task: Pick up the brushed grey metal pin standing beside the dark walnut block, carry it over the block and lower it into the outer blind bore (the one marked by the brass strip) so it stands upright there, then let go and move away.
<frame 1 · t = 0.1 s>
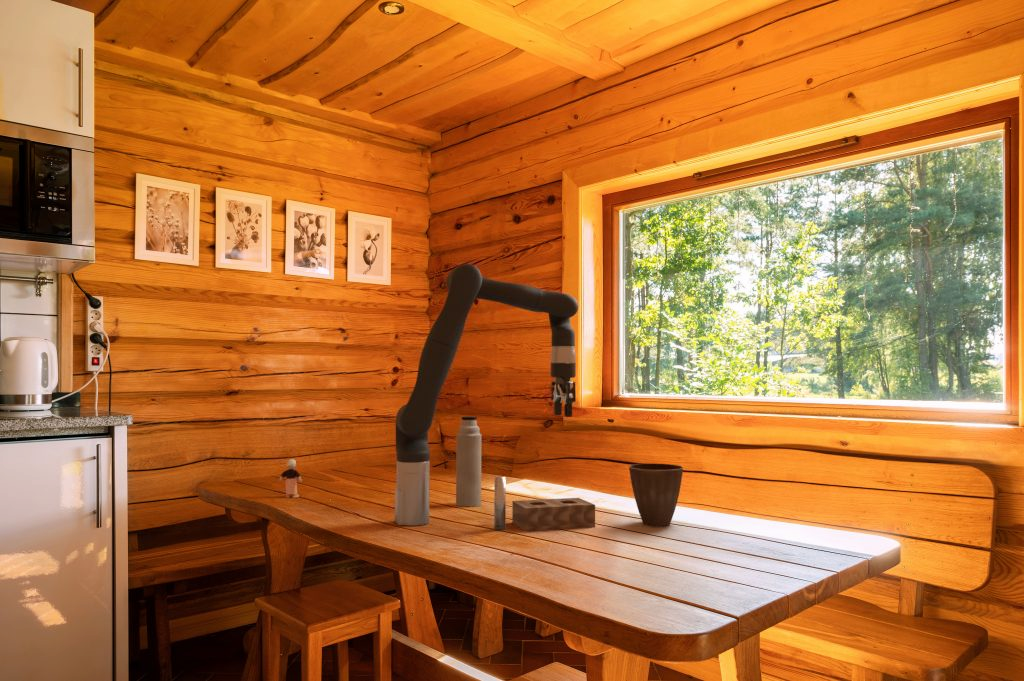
hand: (562, 416, 225), 29 cm above the table, tool pointing down, fingers open, 8 cm apart
plant pot: (656, 524, 210), on the table
metal pin: (499, 529, 202), on the table
walnut bore block: (553, 524, 209), on the table
grandmother figurine: (290, 497, 253), on the table
thermos bottle: (468, 505, 239), on the table
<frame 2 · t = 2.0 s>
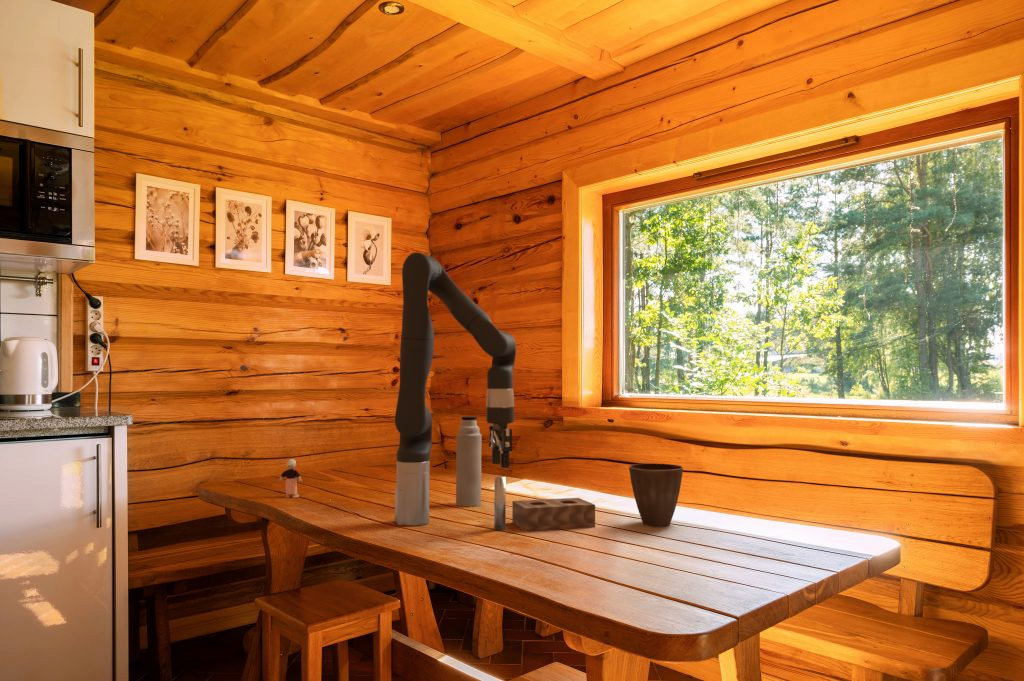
hand: (500, 465, 203), 17 cm above the table, tool pointing down, fingers open, 8 cm apart
nothing on the table moved.
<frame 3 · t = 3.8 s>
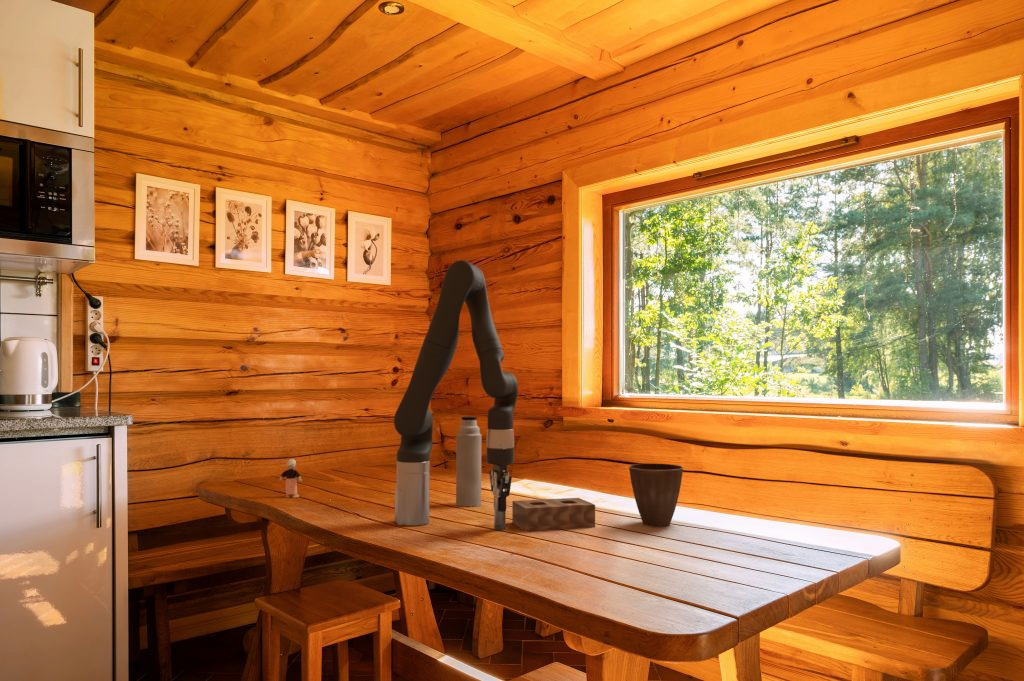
hand: (499, 510, 202), 5 cm above the table, tool pointing down, fingers closed on metal pin, 3 cm apart
metal pin: (499, 529, 202), on the table, touching gripper
everything else where it was.
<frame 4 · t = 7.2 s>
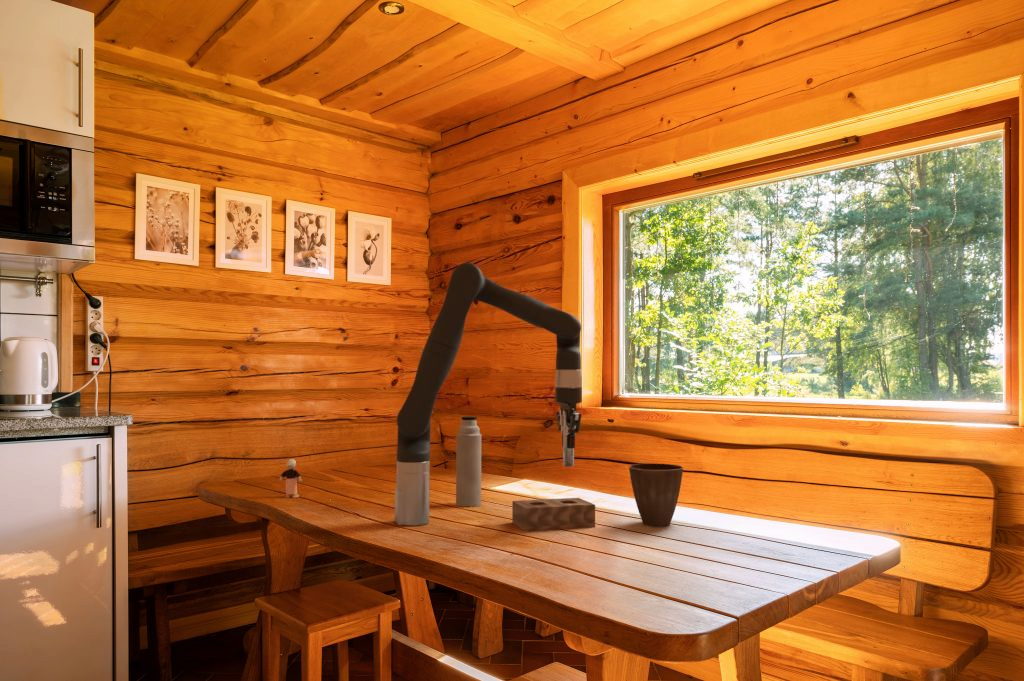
hand: (568, 447, 211), 21 cm above the table, tool pointing down, fingers closed on metal pin, 3 cm apart
metal pin: (568, 465, 211), point 16 cm above the table, touching gripper
everything else where it was.
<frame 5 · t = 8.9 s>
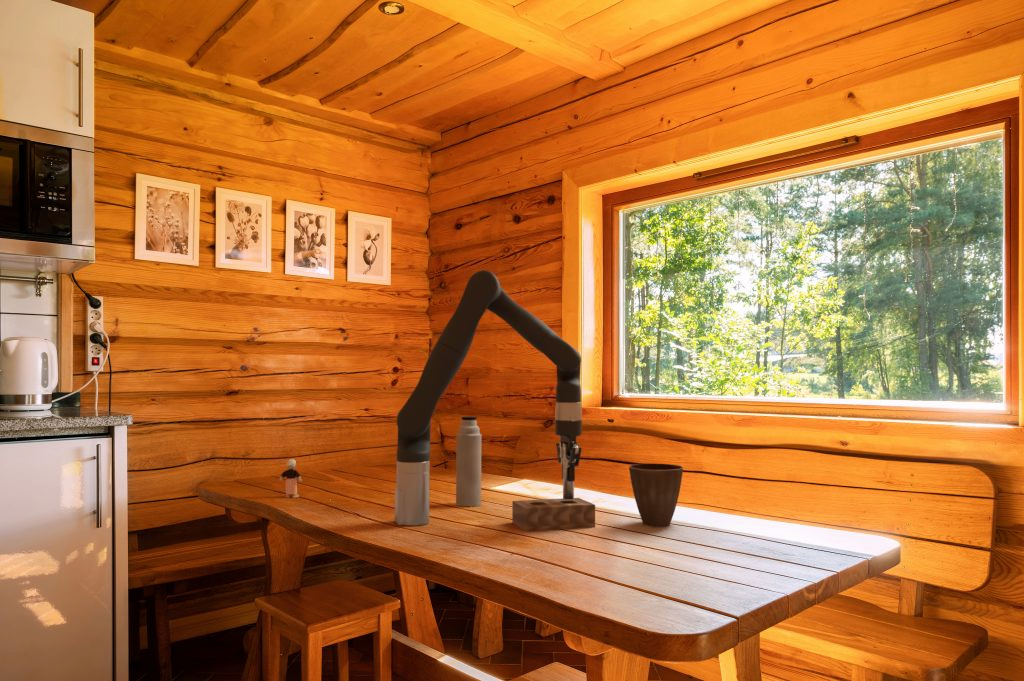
hand: (568, 480, 210), 12 cm above the table, tool pointing down, fingers closed on metal pin, 3 cm apart
metal pin: (568, 498, 210), point 7 cm above the table, touching gripper
everything else where it was.
when the fingers open (7 cm above the table, at t = 10.3 s): metal pin stays where it is, resting on walnut bore block.
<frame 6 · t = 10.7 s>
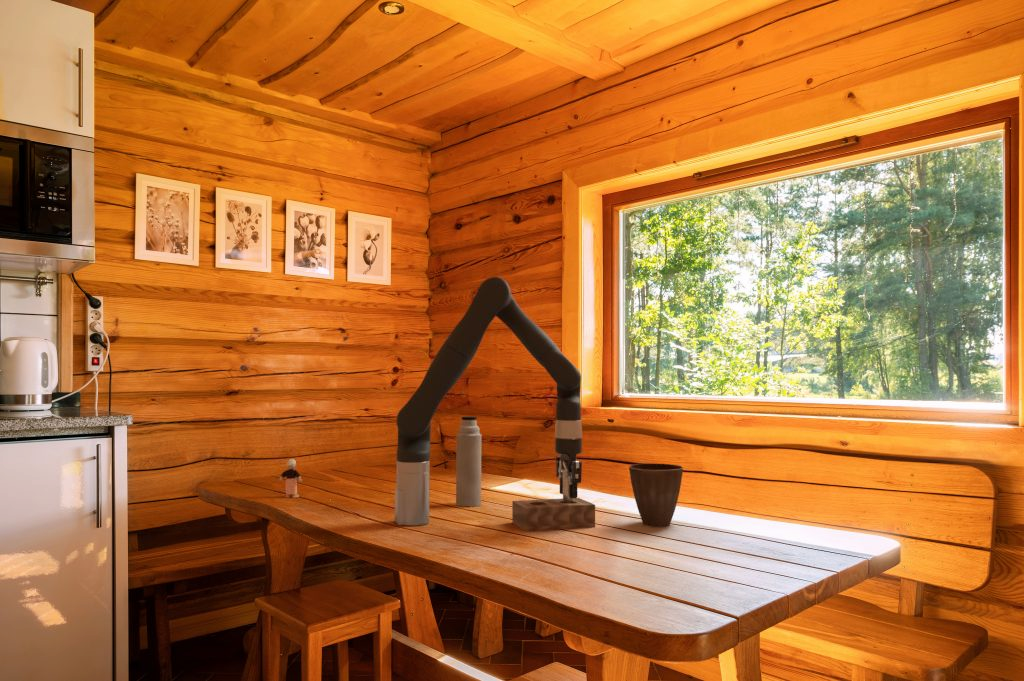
hand: (568, 495, 210), 8 cm above the table, tool pointing down, fingers open, 6 cm apart
metal pin: (568, 519, 210), point 1 cm above the table, touching walnut bore block
everything else where it was.
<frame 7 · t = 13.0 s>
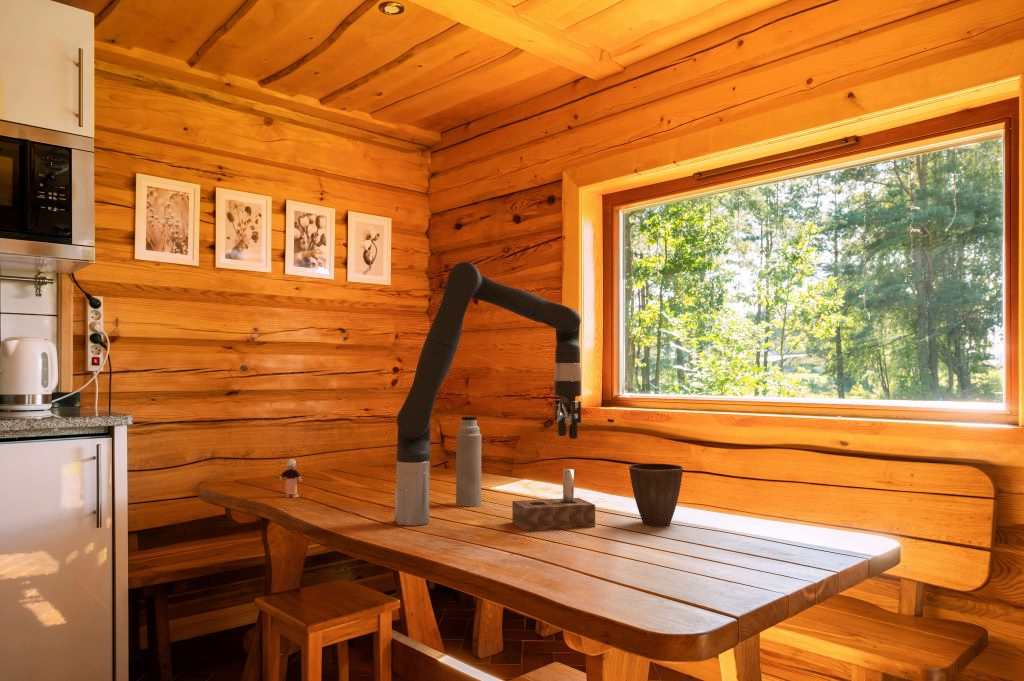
hand: (567, 437, 211), 24 cm above the table, tool pointing down, fingers open, 8 cm apart
nothing on the table moved.
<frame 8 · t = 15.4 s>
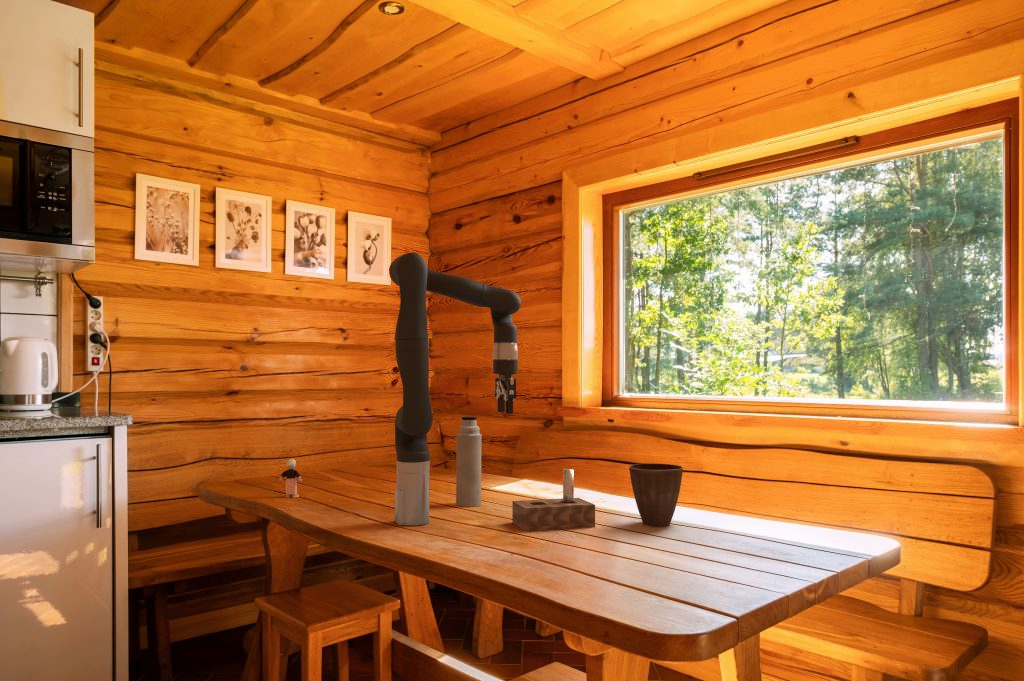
hand: (505, 412, 223), 30 cm above the table, tool pointing down, fingers open, 8 cm apart
nothing on the table moved.
at the end: metal pin 0.1 cm from the target spot on the walnut bore block, point 1.0 cm above the walnut bore block's base; metal pin tilted 0°; the gripper is holding nothing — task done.
